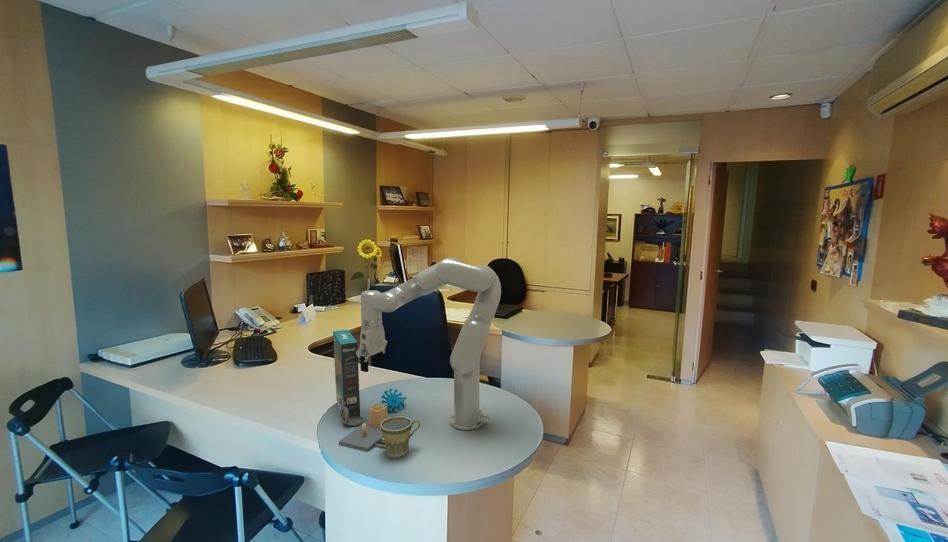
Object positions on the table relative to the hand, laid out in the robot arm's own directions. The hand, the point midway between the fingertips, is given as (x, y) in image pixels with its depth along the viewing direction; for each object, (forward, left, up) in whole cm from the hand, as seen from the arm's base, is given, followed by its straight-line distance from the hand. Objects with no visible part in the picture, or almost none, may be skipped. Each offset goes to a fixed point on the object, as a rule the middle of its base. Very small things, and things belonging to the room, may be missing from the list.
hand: (372, 367), depth 160 cm
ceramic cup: (-23, +16, -21) cm, 35 cm away
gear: (-3, -10, -21) cm, 23 cm away
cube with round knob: (-5, +4, -20) cm, 21 cm away
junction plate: (-9, +15, -20) cm, 27 cm away
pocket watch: (+5, +7, -21) cm, 22 cm away
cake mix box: (+15, -3, -21) cm, 26 cm away
